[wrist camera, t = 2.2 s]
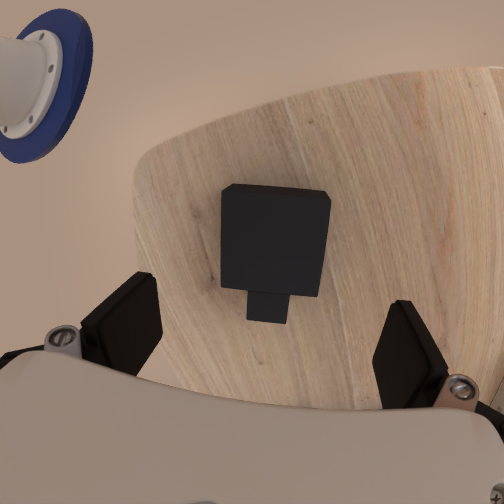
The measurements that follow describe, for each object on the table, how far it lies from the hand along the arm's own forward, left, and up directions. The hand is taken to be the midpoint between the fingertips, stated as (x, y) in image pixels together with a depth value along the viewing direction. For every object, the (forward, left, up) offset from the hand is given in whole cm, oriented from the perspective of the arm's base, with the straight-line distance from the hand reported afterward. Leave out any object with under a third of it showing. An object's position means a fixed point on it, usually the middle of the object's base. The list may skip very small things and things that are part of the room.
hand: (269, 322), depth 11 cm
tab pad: (0, -1, -11) cm, 11 cm away
